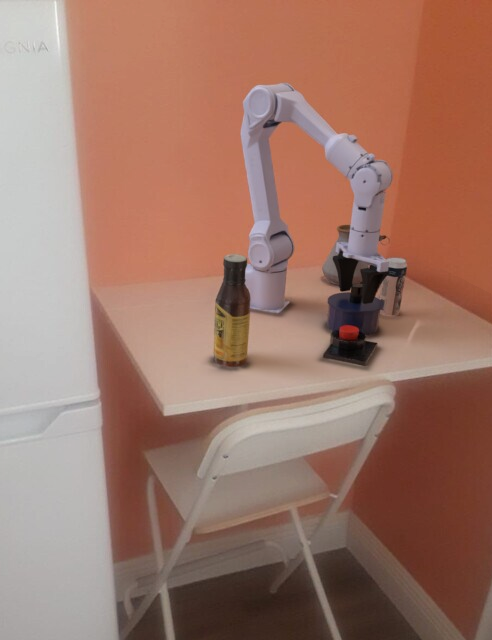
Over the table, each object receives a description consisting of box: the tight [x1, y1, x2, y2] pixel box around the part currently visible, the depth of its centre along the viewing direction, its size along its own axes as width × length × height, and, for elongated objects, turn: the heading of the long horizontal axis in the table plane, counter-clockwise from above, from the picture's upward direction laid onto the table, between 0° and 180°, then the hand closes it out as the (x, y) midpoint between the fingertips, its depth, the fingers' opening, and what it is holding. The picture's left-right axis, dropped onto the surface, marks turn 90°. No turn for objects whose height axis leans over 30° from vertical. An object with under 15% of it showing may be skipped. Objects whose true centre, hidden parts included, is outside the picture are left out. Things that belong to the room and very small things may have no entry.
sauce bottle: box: [213, 253, 251, 368], centre depth 124 cm, size 7×6×20 cm
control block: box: [322, 329, 379, 367], centre depth 133 cm, size 10×8×3 cm
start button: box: [339, 325, 359, 340], centre depth 134 cm, size 4×4×2 cm
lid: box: [326, 283, 383, 314], centre depth 142 cm, size 11×11×4 cm
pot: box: [326, 304, 381, 336], centre depth 144 cm, size 10×10×5 cm
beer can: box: [378, 256, 408, 317], centre depth 150 cm, size 5×5×12 cm
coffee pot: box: [321, 224, 391, 286], centre depth 164 cm, size 21×12×15 cm, turn 19°
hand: (355, 296), depth 142 cm, fingers open, 7 cm apart
